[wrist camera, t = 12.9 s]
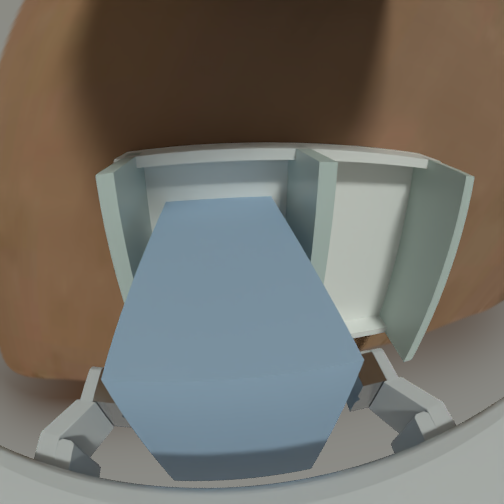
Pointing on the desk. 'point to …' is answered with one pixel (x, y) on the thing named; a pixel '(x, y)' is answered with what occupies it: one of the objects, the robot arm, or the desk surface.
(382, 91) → the desk surface
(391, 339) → the slot rack
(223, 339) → the blue block
